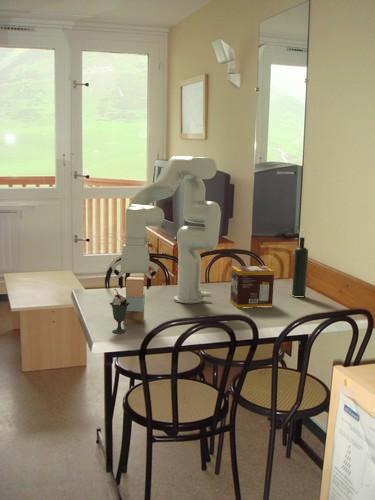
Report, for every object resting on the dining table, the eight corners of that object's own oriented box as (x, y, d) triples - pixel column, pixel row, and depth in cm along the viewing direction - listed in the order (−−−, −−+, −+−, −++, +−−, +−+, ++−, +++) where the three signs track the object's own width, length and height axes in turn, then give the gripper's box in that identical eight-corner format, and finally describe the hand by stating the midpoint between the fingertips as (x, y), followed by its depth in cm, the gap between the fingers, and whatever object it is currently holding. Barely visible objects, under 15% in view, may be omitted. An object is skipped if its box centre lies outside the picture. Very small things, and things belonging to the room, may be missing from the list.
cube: (143, 293, 221) (143, 277, 220) (142, 297, 215) (142, 281, 214) (127, 292, 221) (127, 277, 220) (125, 296, 215) (125, 280, 214)
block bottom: (143, 319, 223) (144, 306, 222) (142, 324, 216) (142, 311, 215) (125, 318, 223) (125, 305, 222) (123, 324, 216) (123, 310, 215)
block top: (144, 306, 222) (144, 293, 221) (142, 311, 215) (142, 298, 214) (125, 305, 222) (125, 292, 222) (122, 310, 215) (123, 297, 215)
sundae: (109, 328, 210) (110, 287, 207) (129, 328, 210) (129, 287, 208) (108, 334, 203) (109, 291, 201) (128, 334, 204) (129, 291, 201)
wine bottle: (307, 297, 266) (312, 230, 261) (298, 298, 262) (302, 230, 257) (298, 294, 270) (302, 228, 265) (289, 295, 267) (293, 229, 262)
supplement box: (229, 302, 253) (231, 265, 250) (264, 301, 256) (266, 265, 253) (236, 308, 243) (238, 270, 240) (272, 307, 246) (274, 270, 244)
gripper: (160, 240, 219) (158, 286, 221) (112, 239, 218) (112, 285, 221) (159, 244, 211) (157, 291, 214) (110, 242, 211) (109, 289, 214)
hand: (134, 288), depth 218 cm, fingers open, 9 cm apart
